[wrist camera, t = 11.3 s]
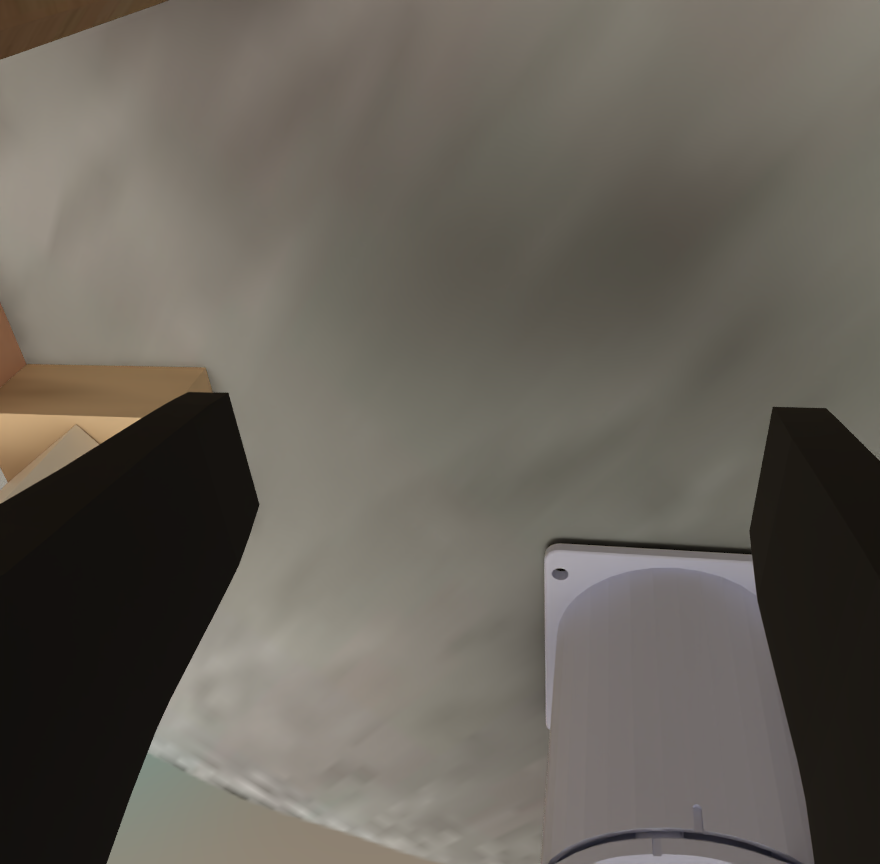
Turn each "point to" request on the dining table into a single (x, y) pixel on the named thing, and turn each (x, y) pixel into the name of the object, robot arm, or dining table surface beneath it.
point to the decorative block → (56, 19)
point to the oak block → (82, 404)
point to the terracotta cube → (8, 351)
